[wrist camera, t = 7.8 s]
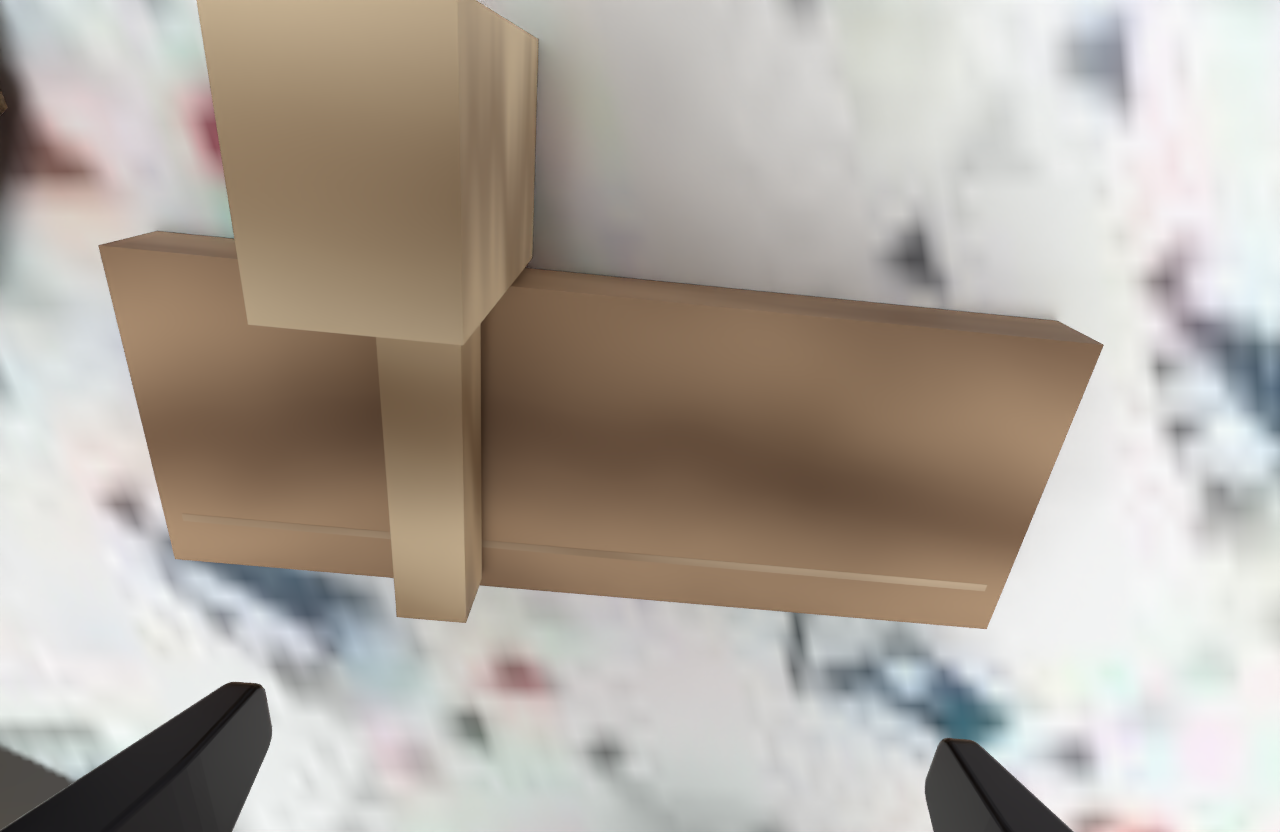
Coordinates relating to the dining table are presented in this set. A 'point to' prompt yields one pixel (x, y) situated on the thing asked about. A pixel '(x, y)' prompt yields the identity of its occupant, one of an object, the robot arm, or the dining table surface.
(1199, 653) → the dining table surface
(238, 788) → the robot arm
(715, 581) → the board
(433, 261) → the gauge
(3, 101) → the brown rock
